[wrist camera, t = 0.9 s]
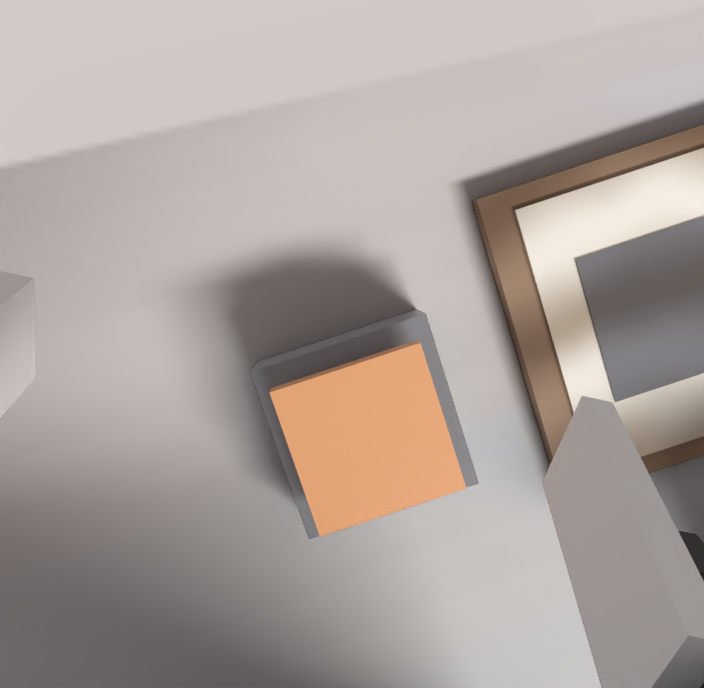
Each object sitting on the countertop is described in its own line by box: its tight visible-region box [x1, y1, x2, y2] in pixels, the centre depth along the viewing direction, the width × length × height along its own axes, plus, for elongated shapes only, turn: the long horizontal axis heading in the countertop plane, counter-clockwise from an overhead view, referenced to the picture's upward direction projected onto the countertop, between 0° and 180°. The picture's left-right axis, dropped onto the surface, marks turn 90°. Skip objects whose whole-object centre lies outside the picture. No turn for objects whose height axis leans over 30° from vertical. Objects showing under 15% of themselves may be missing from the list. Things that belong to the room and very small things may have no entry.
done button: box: [270, 340, 466, 537], centre depth 29 cm, size 6×6×4 cm
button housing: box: [250, 309, 479, 539], centre depth 31 cm, size 8×8×3 cm
